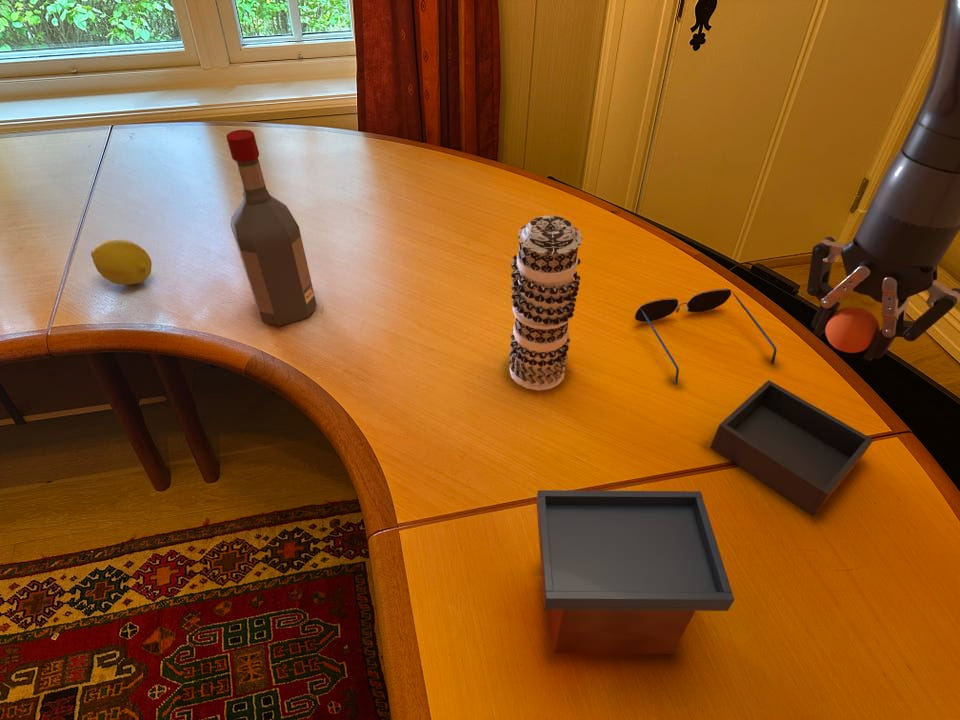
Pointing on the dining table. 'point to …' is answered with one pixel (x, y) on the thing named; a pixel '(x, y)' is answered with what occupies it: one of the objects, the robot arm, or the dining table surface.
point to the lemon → (122, 261)
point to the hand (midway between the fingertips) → (844, 343)
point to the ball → (852, 329)
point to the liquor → (269, 242)
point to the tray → (629, 552)
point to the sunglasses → (695, 304)
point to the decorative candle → (543, 301)
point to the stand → (618, 631)
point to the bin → (790, 445)
